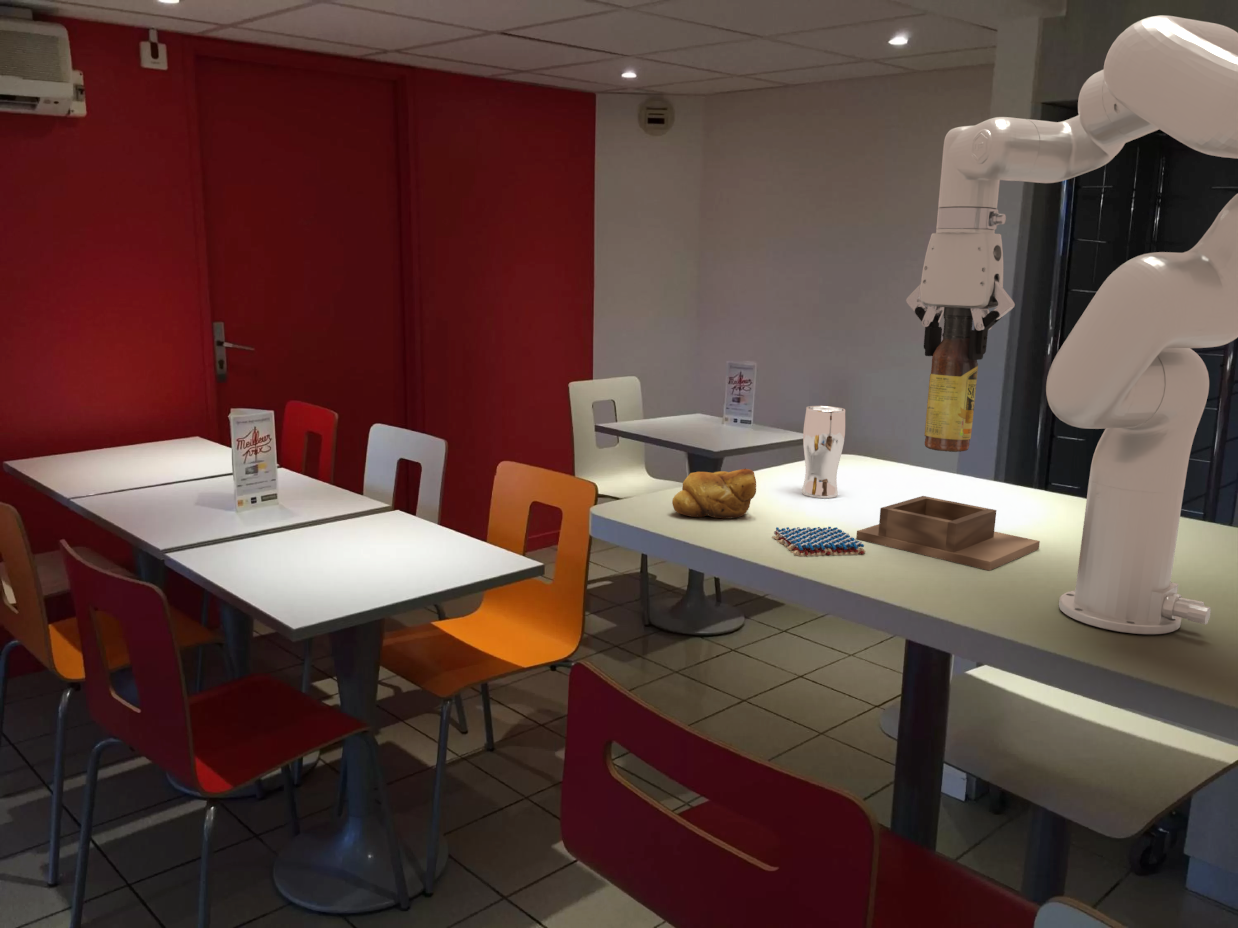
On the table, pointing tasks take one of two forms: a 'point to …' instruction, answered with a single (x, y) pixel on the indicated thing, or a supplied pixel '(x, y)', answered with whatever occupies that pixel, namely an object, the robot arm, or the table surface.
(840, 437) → the beer glass
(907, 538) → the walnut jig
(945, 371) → the sauce bottle
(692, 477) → the bread roll
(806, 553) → the woven mat
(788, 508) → the table surface
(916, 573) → the table surface
